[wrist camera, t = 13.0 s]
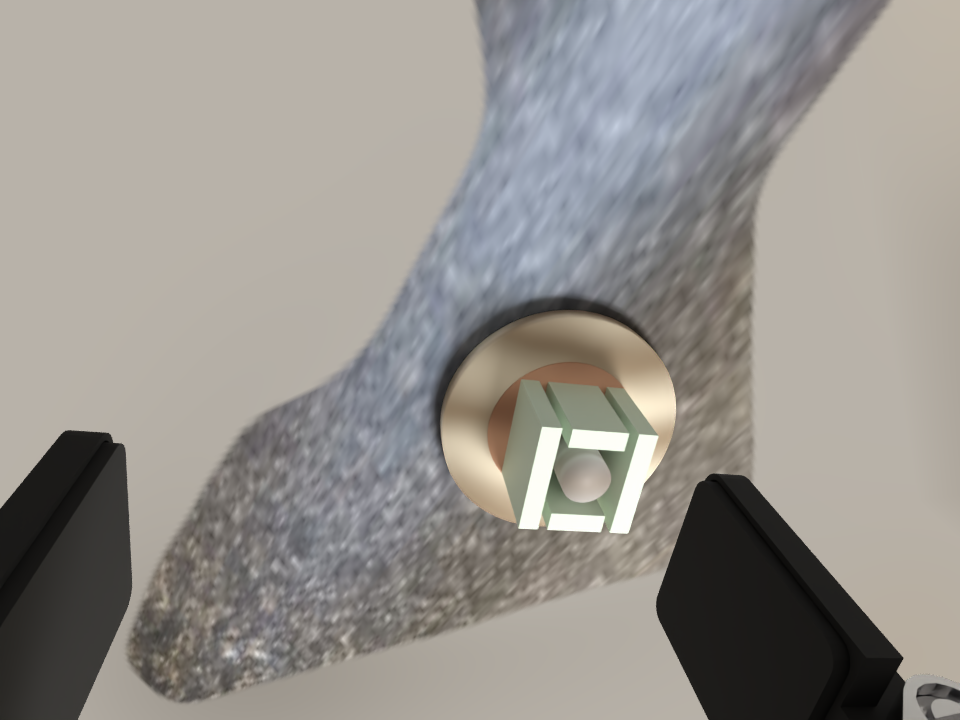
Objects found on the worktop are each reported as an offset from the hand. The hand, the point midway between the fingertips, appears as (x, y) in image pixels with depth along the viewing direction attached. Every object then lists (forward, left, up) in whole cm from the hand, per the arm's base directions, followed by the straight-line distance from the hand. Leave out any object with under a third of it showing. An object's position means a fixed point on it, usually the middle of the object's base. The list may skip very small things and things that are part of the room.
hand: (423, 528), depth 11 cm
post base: (+14, +13, -30) cm, 36 cm away
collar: (+14, +13, -29) cm, 34 cm away
